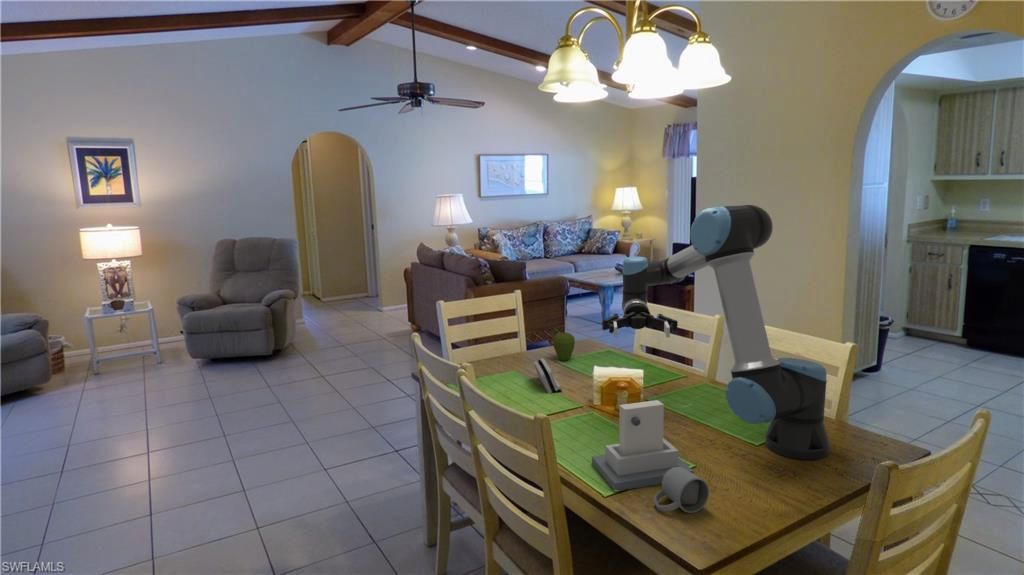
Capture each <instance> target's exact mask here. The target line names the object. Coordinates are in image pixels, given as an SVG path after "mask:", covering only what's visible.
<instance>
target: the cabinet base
mask: <svg viewBox="0 0 1024 575" xmlns="http://www.w3.org/2000/svg"><path fill="white" fill-rule="evenodd" d="M619 449H620V443H614V444H609V445H607V444H605V448H604V450H605V452H604V453H605V454H601V455H595V456H594V455H593V456H591V465H592V464H593V465H594V466H595V467H596V468H595V467H594V466H593V465H592V466H593V467H594V468H595V470H596V469H597V470H598V471H599V472H600V473H601V474H602V476H603V477H604V478H605V479H606V480H605V479H604V478H603V477H602V478H603V479H604V480H605V482H606V481H607V482H608V483H609V484H610V485H611V487H612V488H613V489H614V490H621V491H626V489H627V490H632V489H633V488H634V489H638V488H639V489H640V488H644V487H651V486H657V485H661V482H662V478H663V476H664V474H665V473H666V472H667V471H668V470H669V469H671V468H673V467H681V468H684V469H686V470H688V471H689V472H691V473H693V474H695V473H694V472H695V471H694V470H693V469H692V468H691V466H689V465H688V464H687V463H685V462H684V461H683V460H682V459H681V458H680V457H679V450H678V449H677V448H676V447H675V446H673V444H671V443H670V442H669V441H668V440H667V439H666V438H664V437H663V451H656V452H649V453H643V454H636V455H629V456H623V457H621V456H620V455H619ZM597 470H596V471H597ZM598 471H597V472H598ZM599 472H598V473H599ZM600 473H599V474H600ZM601 474H600V475H601ZM607 482H606V483H607ZM608 483H607V484H608ZM609 484H608V485H609ZM610 485H609V486H610ZM611 487H610V488H611ZM612 488H611V489H612ZM613 489H612V490H613ZM634 489H633V490H634ZM614 490H613V491H614Z"/></svg>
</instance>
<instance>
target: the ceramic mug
mask: <svg viewBox="0 0 1024 575" xmlns="http://www.w3.org/2000/svg"><path fill="white" fill-rule="evenodd" d="M660 485H661V490H659V491H658V492H657V493H656V494H655V495H654V498H653V503H654V505H655V507H656V509H657V510H659V512H662V513H668V512H669V513H670V512H672V511H674V510H677V509H680V510H682V511H683V512H685V513H687V514H694V513H697V512H699V511H700V510H702V509H703V508H704V507H705V506H706V505H707V502H708V500H709V497H710V489H709V485H708V483H707V482H706V480H704V479H703V478H701V477H699V476H698V475H696V474H695V473H694V474H693V473H691V472H689V471H688V470H686V469H684V468H681V467H673V468H671V469H669V470H668V471H667V472H666V473H665V474H664V476H663V478H662V482H661V484H660ZM664 496H665V497H667V498H669V499H670V500H671V501H672V503H670V504H667V505H660V503H659V501H660V499H662V498H663V497H664Z"/></svg>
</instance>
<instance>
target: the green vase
mask: <svg viewBox="0 0 1024 575" xmlns="http://www.w3.org/2000/svg"><path fill="white" fill-rule="evenodd" d="M575 341H576V338H575V337H574V335H573V334H572V333H570V332H564V331H563V332H558V333H556V334H554V336H553V339H552V342H553V343H552V344H553V348H554V351H555V353H556V356H557V357H558V358H559V360H560V361H562V362H566V361H568V360H569V359H570V358H571V356H572V354H573V352H574V348H575Z"/></svg>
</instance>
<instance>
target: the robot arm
mask: <svg viewBox="0 0 1024 575" xmlns="http://www.w3.org/2000/svg"><path fill="white" fill-rule="evenodd" d="M773 227H774V225H773V220H772V218H771V216H770V215H769V213H768V212H767V211H766V210H765V209H763V208H762V207H760V206H758V205H755V204H743V205H742V204H741V205H726V206H725V205H724V206H723V205H722V206H721V205H718V206H714V207H709V208H706V209H704V210H701V211H700V212H698V214H697V215H696V217H694V221H692V224H691V228H690V233H689V234H690V235H689V236H690V242H691V245H689V246H688V247H686V248H684V249H682V250H680V251H678V252H677V253H674V254H673V255H671V256H669V257H667V258H665V259H662V260H657V261H649V260H648V258H647V257H645V256H628V257H625V258H624V259H623V261H622V271H621V272H622V301H621V309H622V311H623V316H621V315H620V314H619V313H614V314H613V315H611V316H609V317H607V318H605V319H603V320H602V331H603V330H604V331H606V330H608V329H609V330H608V332H609V333H610V334H613V337H614V338H618V329H622V328H625V327H626V328H630V329H634V330H641V329H644V328H646V327H647V328H652V327H653V328H657V329H661V330H663V331H664V334H665V336H666V338H671V335H670V334H671V333H673V331H678V326H679V325H678V324H679V323H678V322H679V321H678V320H676V319H673V318H671V317H668V316H665V315H663V314H662V313H658V314H657V315H656V316H654V315H653V314H651V312H650V308H649V306H648V287H652V286H658V285H666V284H667V285H668V284H676V283H679V282H680V283H681V282H682V281H684V280H685V278H686V276H688V275H690V274H693V273H695V272H697V271H699V270H702V269H704V268H706V267H710V268H712V269H713V270H714V271H713V272H714V275H715V279H716V283H717V288H718V292H719V296H720V301H721V305H722V310H723V315H724V319H725V323H726V328H727V330H728V331H727V332H728V336H729V337H728V338H729V341H730V345H731V349H732V353H733V358H734V364H733V365H732V368H731V369H730V373H731V380H730V381H729V382H728V384H727V385H726V388H725V397H726V401H727V404H728V407H729V408H730V410H731V411H732V413H733V414H734V415H735V416H737V417H738V418H739V419H740V420H741V421H743V422H745V423H748V424H751V425H759V424H764V423H766V424H767V423H769V426H768V428H767V430H766V432H765V439H764V443H765V446H766V448H768V449H769V450H770V451H771V452H773V453H776V454H778V455H781V456H783V457H787V458H791V459H796V460H803V461H804V460H805V461H807V460H809V461H811V460H812V461H813V460H820V459H824V458H825V457H827V456H828V455H829V454H830V449H831V447H830V446H831V443H830V439H829V436H828V432H827V429H826V426H825V422H824V419H825V418H824V417H825V407H826V406H825V405H826V403H825V402H826V393H827V392H826V390H827V383H828V380H827V370H826V367H824V366H823V365H822V364H820V363H818V362H815V361H810V360H807V359H802V358H801V359H800V358H796V357H795V358H793V357H780V358H778V359H776V358H774V357H773V356H772V351H771V347H770V344H769V339H768V334H767V331H766V330H767V329H766V326H765V322H764V318H763V313H762V309H761V305H760V301H759V296H758V292H757V288H756V283H755V279H754V276H753V272H752V266H751V259H752V258H753V256H754V255H755V251H754V250H755V249H758V248H760V247H762V246H764V245H765V244H767V242H768V241H769V239H770V238H771V237H772V236H771V235H772V234H773V229H774V228H773Z"/></svg>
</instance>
